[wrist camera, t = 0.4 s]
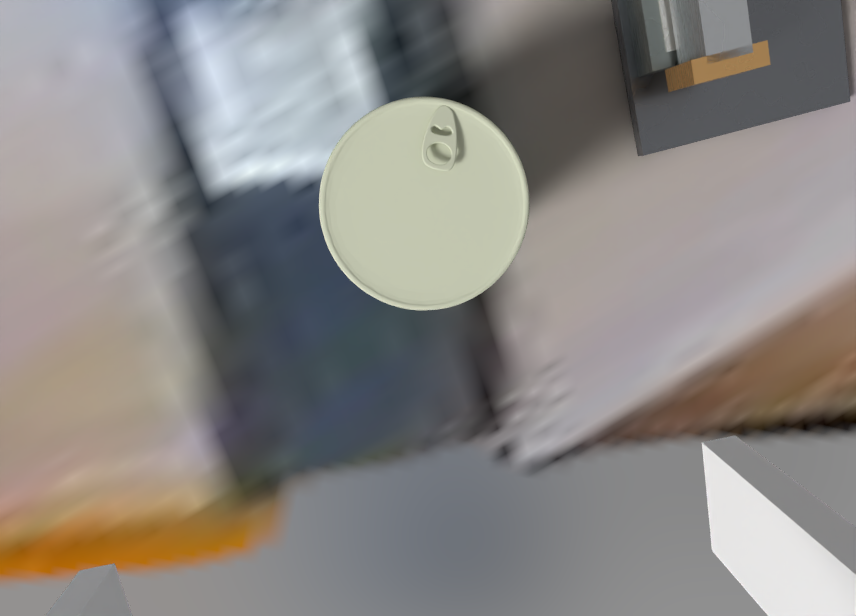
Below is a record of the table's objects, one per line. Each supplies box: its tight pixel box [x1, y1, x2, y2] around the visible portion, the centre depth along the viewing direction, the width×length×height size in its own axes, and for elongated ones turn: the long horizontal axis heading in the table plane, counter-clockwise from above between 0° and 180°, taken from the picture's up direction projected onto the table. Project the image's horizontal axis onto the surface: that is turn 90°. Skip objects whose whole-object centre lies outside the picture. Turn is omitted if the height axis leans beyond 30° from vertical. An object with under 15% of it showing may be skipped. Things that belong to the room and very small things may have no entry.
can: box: [319, 97, 529, 310], centre depth 32 cm, size 9×9×12 cm
